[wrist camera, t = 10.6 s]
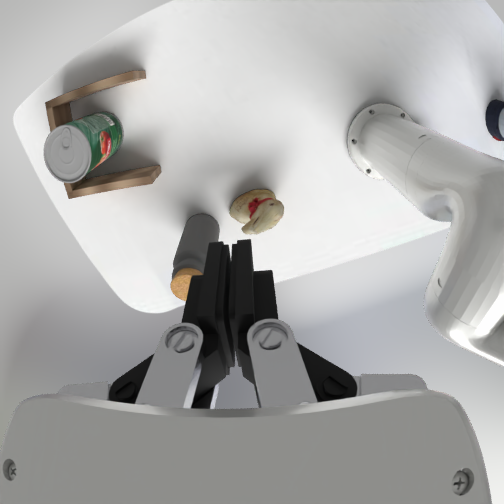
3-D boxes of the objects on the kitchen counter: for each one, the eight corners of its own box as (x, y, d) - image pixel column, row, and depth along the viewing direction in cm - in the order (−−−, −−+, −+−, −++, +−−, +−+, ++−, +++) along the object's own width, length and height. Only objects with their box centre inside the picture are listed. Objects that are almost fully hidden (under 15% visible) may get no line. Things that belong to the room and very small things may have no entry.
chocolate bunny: (277, 218, 47) (284, 253, 38) (229, 217, 46) (226, 252, 38) (280, 187, 44) (289, 217, 35) (229, 185, 43) (226, 215, 35)
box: (145, 70, 32) (132, 70, 28) (161, 172, 41) (152, 183, 37) (62, 97, 32) (45, 102, 28) (82, 186, 42) (68, 198, 38)
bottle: (181, 216, 46) (160, 273, 34) (216, 211, 46) (205, 268, 33) (189, 245, 49) (173, 306, 37) (222, 241, 49) (215, 303, 37)
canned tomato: (122, 160, 40) (90, 186, 31) (81, 156, 39) (44, 181, 30) (126, 111, 35) (91, 125, 26) (83, 110, 34) (43, 125, 25)
